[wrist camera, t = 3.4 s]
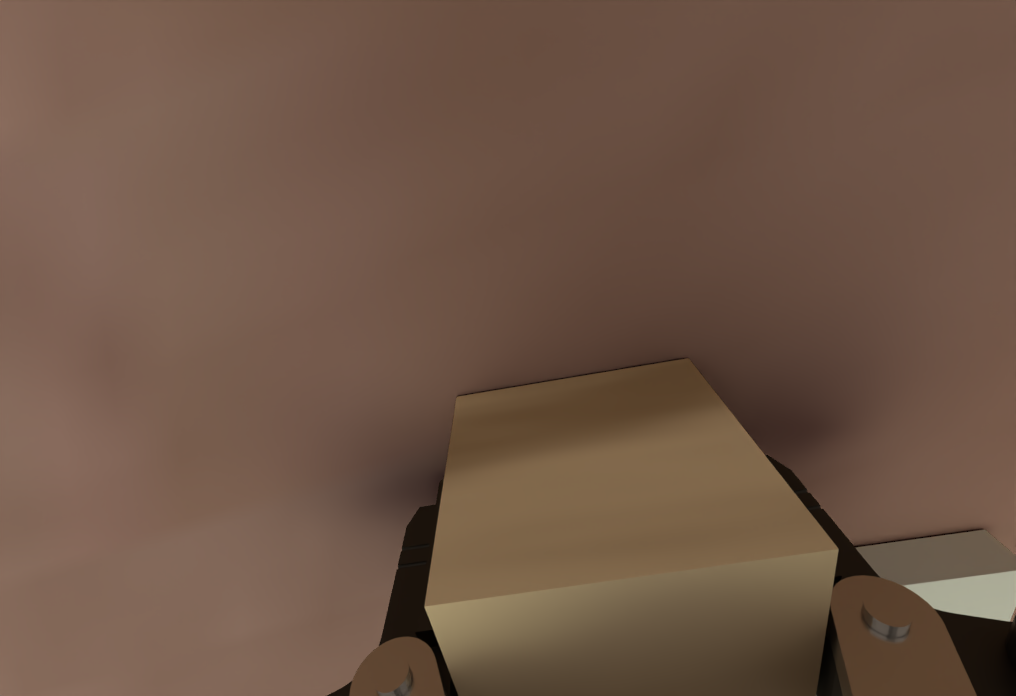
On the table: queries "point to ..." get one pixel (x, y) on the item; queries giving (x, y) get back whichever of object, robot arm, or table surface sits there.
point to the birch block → (623, 546)
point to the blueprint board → (952, 572)
